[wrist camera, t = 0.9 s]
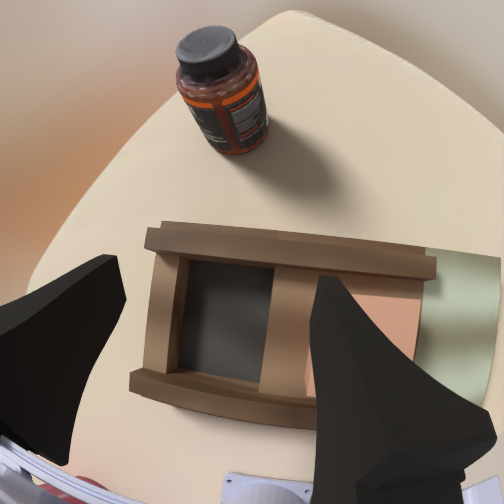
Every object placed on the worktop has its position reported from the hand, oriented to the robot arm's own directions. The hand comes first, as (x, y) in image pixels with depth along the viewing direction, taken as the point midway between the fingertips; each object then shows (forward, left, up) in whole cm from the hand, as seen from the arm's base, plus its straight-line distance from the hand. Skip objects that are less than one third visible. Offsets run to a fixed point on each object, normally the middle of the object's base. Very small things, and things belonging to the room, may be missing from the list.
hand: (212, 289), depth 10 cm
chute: (-2, -6, -13) cm, 15 cm away
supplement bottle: (+15, +4, -14) cm, 20 cm away
